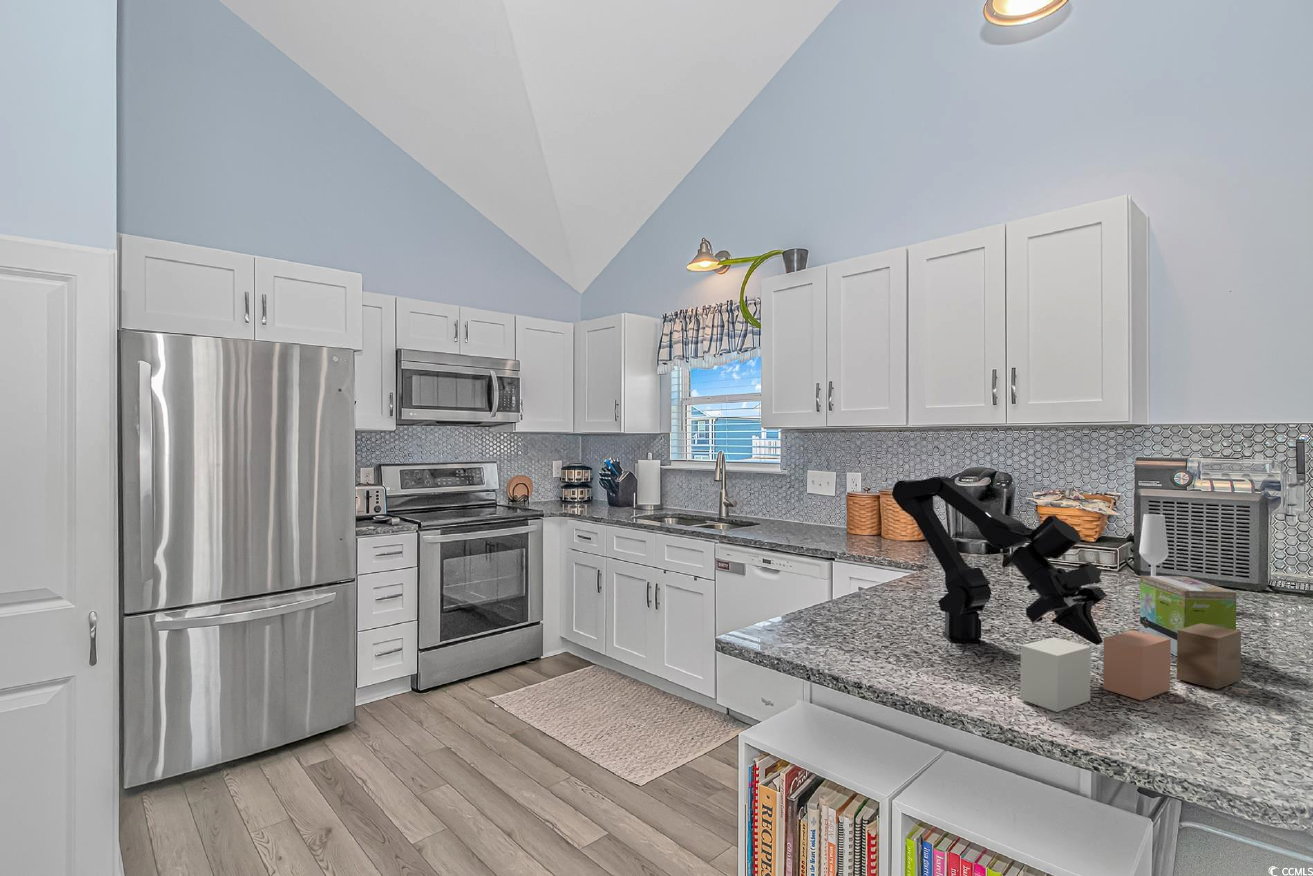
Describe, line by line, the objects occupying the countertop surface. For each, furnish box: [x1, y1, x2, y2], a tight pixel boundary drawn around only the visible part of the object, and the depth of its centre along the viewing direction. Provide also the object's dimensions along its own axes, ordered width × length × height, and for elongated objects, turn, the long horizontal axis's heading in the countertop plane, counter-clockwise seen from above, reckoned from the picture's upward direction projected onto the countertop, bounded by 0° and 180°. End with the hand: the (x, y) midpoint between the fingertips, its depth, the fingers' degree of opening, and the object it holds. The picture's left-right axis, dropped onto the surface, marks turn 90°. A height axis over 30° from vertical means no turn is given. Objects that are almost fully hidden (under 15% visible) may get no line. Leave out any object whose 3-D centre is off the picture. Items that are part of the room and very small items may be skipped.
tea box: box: [1139, 575, 1237, 657], centre depth 139 cm, size 15×10×15 cm, turn 174°
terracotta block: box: [1102, 629, 1171, 701], centre depth 115 cm, size 6×10×9 cm, turn 120°
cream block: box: [1019, 637, 1092, 713], centre depth 110 cm, size 6×10×9 cm, turn 120°
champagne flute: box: [1138, 513, 1170, 576], centre depth 187 cm, size 7×7×24 cm
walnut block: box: [1176, 623, 1242, 690], centre depth 121 cm, size 6×10×9 cm, turn 120°
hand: (1099, 643), depth 121 cm, fingers closed
